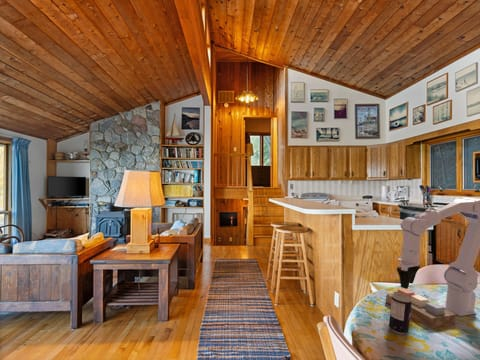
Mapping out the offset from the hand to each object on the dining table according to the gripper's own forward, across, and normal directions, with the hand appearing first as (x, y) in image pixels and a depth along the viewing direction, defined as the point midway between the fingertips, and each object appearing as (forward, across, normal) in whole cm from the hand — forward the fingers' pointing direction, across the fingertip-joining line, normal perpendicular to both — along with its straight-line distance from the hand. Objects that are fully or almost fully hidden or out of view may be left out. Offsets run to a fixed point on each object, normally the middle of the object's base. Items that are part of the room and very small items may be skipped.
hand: (406, 285), depth 114 cm
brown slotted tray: (+10, -2, +4) cm, 11 cm away
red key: (+6, -4, -1) cm, 8 cm away
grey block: (+6, +1, +10) cm, 12 cm away
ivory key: (+6, -2, +4) cm, 8 cm away
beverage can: (+10, +19, +3) cm, 21 cm away
